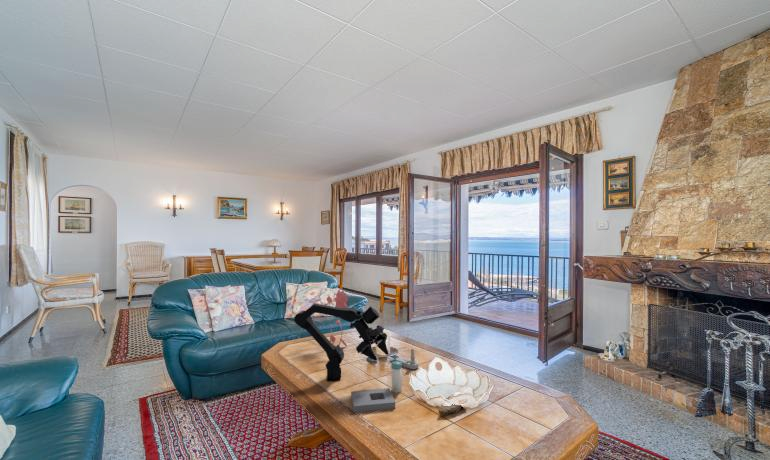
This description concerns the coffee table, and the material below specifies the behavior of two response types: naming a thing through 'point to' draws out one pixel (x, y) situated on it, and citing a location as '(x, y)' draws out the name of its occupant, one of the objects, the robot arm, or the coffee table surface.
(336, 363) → the robot arm
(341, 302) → the figurine
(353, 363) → the coffee table surface
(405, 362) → the electronic device
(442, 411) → the stone
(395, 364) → the peg
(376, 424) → the coffee table surface
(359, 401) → the socket board
